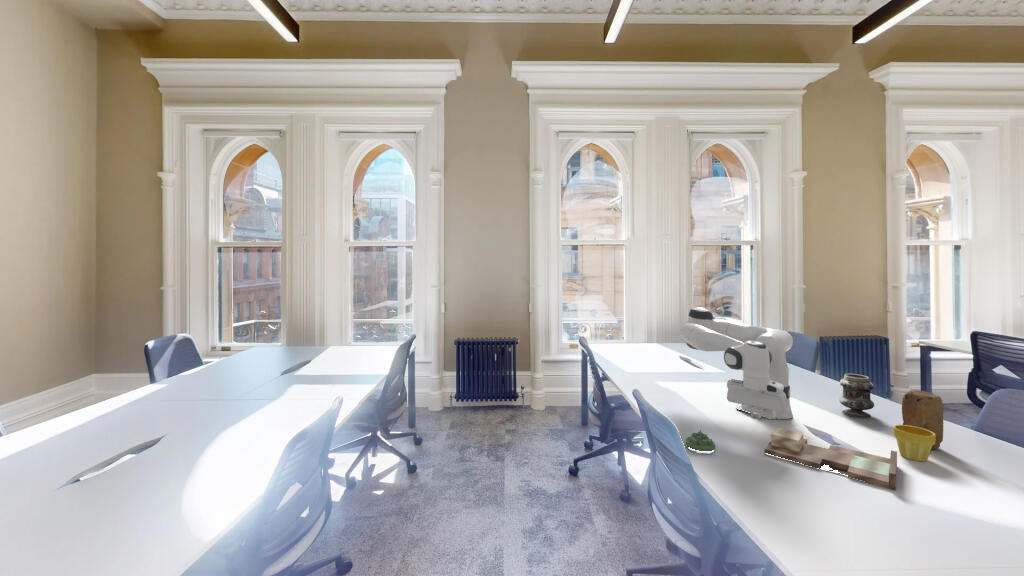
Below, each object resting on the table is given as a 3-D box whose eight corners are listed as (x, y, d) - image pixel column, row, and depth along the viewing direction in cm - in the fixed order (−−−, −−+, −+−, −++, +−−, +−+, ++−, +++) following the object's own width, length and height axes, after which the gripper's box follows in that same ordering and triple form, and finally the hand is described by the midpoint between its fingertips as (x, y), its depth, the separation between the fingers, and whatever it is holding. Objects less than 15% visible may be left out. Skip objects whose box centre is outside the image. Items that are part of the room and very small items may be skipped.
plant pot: (922, 452, 139) (922, 426, 139) (943, 466, 130) (943, 437, 129) (886, 448, 143) (886, 422, 142) (904, 461, 133) (904, 434, 133)
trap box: (764, 454, 140) (764, 441, 140) (777, 437, 155) (777, 424, 154) (895, 490, 116) (895, 474, 116) (896, 466, 130) (897, 451, 130)
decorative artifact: (710, 457, 140) (718, 447, 147) (710, 438, 139) (718, 429, 147) (682, 449, 146) (691, 440, 154) (681, 431, 146) (690, 423, 153)
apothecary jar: (870, 412, 179) (870, 374, 178) (877, 421, 169) (877, 380, 168) (836, 408, 185) (837, 371, 185) (841, 416, 175) (841, 377, 174)
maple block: (771, 444, 144) (771, 433, 144) (776, 437, 150) (776, 427, 150) (798, 451, 138) (798, 440, 138) (803, 443, 144) (803, 433, 144)
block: (945, 451, 140) (946, 397, 139) (922, 450, 141) (923, 396, 140) (919, 438, 151) (919, 388, 150) (897, 437, 152) (898, 387, 151)
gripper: (724, 379, 156) (724, 413, 156) (785, 390, 141) (784, 427, 141) (729, 376, 160) (729, 409, 161) (788, 386, 145) (788, 422, 146)
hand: (755, 417), depth 151 cm, fingers closed
